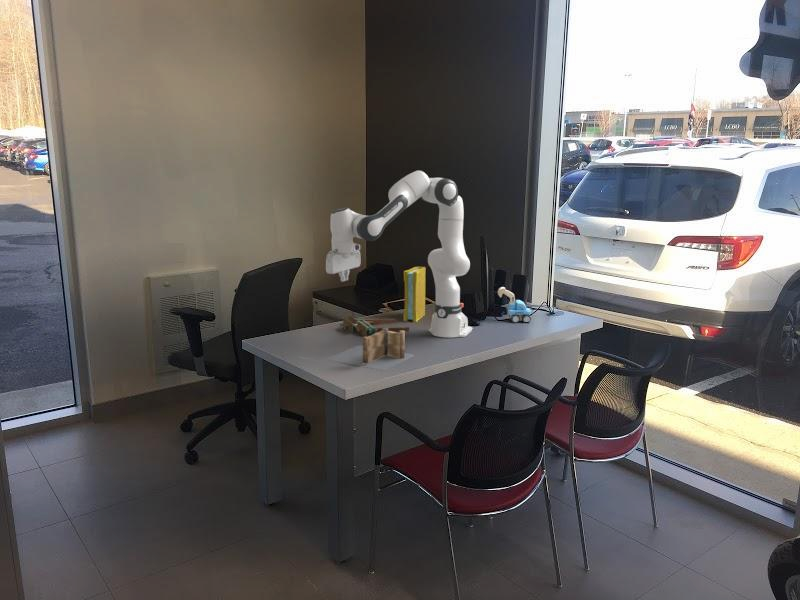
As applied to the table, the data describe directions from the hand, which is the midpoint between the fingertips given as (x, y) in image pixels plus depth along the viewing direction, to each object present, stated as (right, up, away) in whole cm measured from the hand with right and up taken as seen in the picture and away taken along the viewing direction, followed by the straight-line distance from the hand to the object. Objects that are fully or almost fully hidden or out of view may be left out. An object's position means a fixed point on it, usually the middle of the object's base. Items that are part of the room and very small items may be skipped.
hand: (344, 281), depth 274 cm
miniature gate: (+10, -22, +39) cm, 46 cm away
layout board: (+11, -32, -7) cm, 34 cm away
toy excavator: (+80, -19, +56) cm, 99 cm away
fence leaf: (+13, -31, -11) cm, 36 cm away
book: (+31, -17, +61) cm, 71 cm away
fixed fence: (+20, -31, -5) cm, 37 cm away
